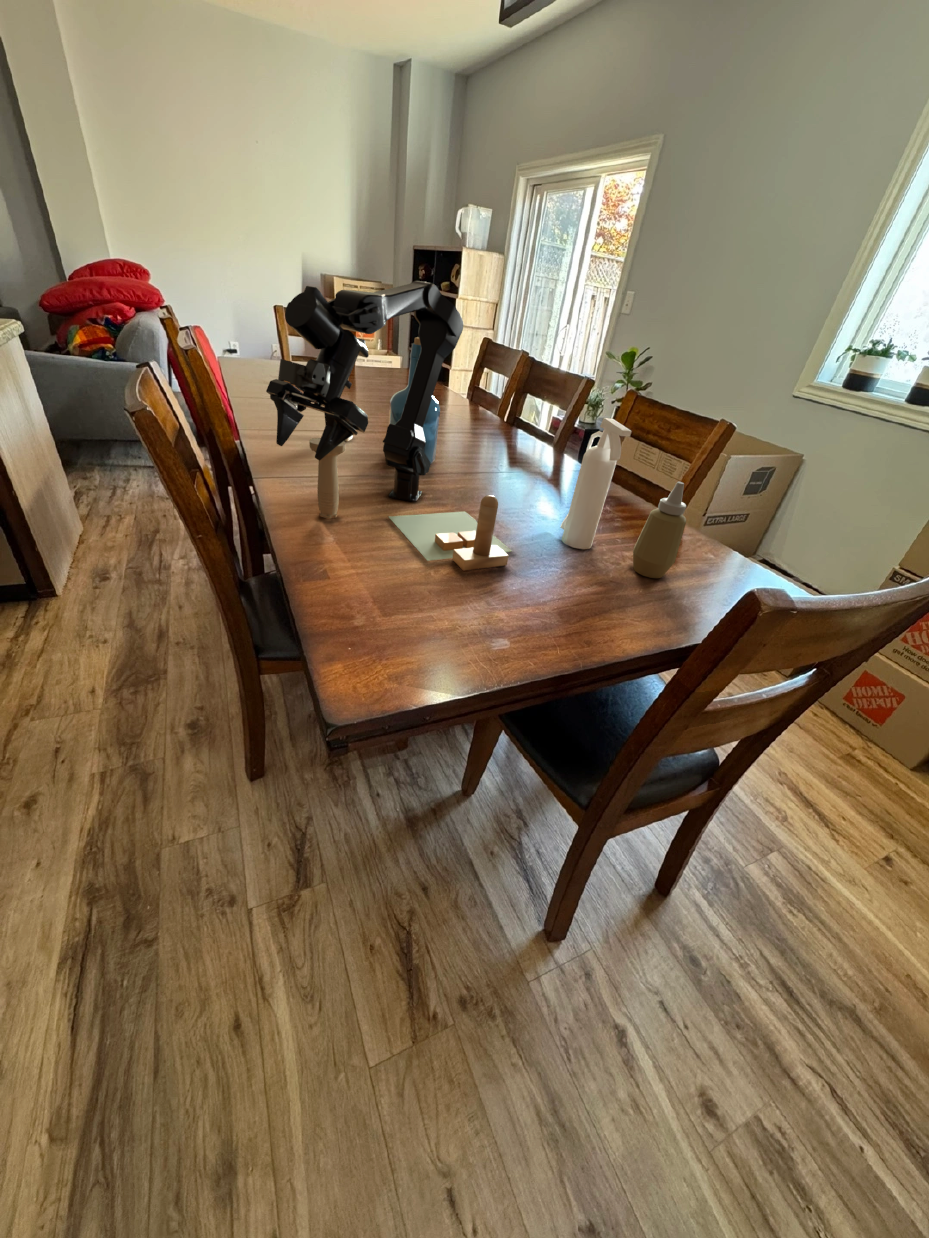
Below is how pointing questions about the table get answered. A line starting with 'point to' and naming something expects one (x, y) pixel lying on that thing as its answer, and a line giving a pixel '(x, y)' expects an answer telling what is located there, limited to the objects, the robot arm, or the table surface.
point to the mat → (436, 531)
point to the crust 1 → (448, 541)
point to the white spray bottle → (593, 485)
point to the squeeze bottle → (661, 536)
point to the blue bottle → (433, 411)
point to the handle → (328, 480)
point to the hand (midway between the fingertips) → (297, 452)
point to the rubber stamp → (482, 541)
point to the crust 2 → (467, 538)
